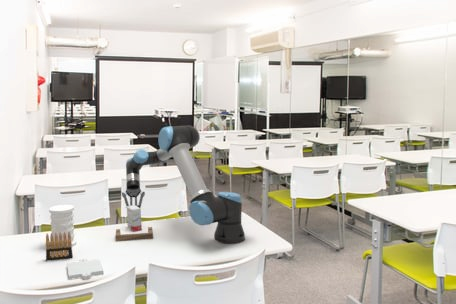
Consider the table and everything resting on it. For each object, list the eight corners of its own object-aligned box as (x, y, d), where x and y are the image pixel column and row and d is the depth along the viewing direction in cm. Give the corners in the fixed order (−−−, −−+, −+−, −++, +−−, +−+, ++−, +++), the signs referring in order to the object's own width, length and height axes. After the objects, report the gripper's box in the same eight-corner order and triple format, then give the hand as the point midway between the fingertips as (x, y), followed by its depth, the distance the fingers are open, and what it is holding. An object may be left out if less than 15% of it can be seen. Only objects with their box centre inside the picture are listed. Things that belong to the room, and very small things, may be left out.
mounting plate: (66, 265, 181) (66, 261, 181) (98, 261, 186) (98, 256, 186) (69, 283, 165) (69, 278, 165) (104, 277, 170) (104, 272, 170)
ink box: (142, 230, 226) (141, 208, 224) (132, 232, 223) (132, 209, 221) (135, 225, 233) (135, 204, 231) (126, 227, 230) (126, 206, 229)
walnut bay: (153, 238, 213) (153, 233, 213) (115, 241, 209) (115, 236, 209) (152, 231, 224) (152, 226, 223) (116, 233, 220) (116, 229, 220)
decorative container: (45, 244, 204) (43, 207, 202) (69, 238, 213) (67, 203, 210) (57, 250, 196) (55, 212, 194) (80, 244, 205) (79, 207, 202)
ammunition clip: (46, 261, 185) (44, 234, 183) (46, 259, 187) (45, 232, 185) (72, 258, 188) (71, 231, 186) (72, 256, 190) (71, 230, 188)
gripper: (144, 185, 253) (146, 221, 239) (121, 186, 250) (121, 223, 236) (144, 178, 247) (146, 215, 233) (121, 179, 244) (121, 216, 230)
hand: (134, 219), depth 234 cm, fingers closed
